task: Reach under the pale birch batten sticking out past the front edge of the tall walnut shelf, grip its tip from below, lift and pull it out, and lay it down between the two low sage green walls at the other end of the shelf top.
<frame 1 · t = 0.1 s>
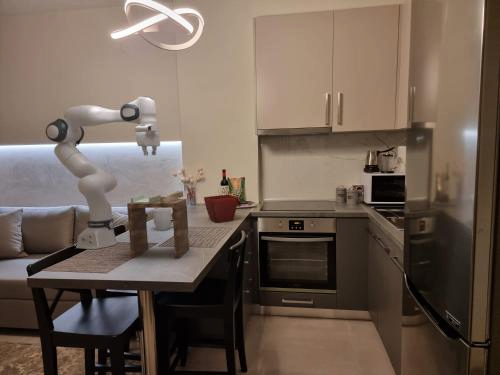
hand: (150, 155, 181), 48 cm above the counter, tool pointing down, fingers open, 8 cm apart
mug: (164, 229, 224), on the counter
batten: (172, 199, 170), point 26 cm above the counter, touching walnut shelf
sage channel: (146, 201, 169), resting on walnut shelf
walnut shelf: (161, 253, 170), on the counter
plant pot: (221, 220, 246), on the counter
pill bottle: (162, 224, 240), on the counter
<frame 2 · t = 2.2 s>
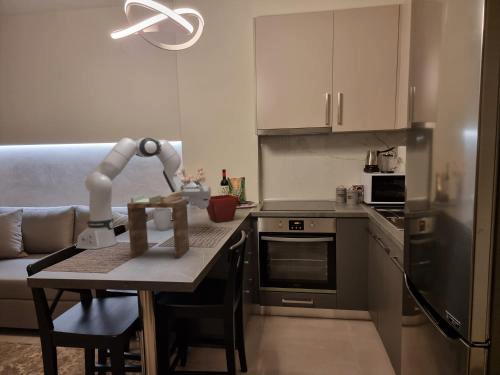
hand: (189, 185, 195), 30 cm above the counter, tool pointing upward, fingers open, 8 cm apart
nothing on the counter moved.
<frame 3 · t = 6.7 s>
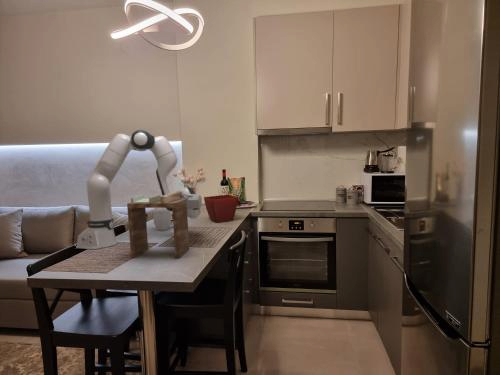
hand: (177, 194, 176), 28 cm above the counter, tool pointing upward, fingers closed on batten, 3 cm apart
batten: (172, 199, 170), point 26 cm above the counter, touching gripper, walnut shelf
everything else where it was.
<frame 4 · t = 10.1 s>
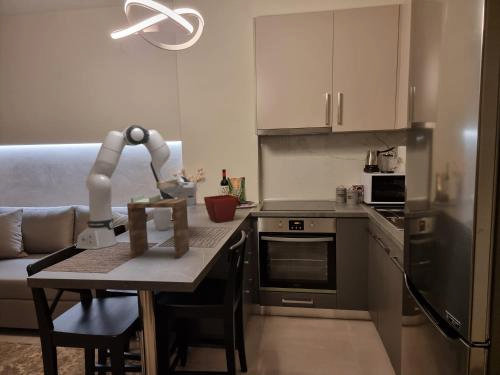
hand: (173, 181, 186), 34 cm above the counter, tool pointing upward, fingers closed on batten, 3 cm apart
batten: (168, 186, 180), point 32 cm above the counter, touching gripper
everything else where it was.
when the fingers open (30 cm above the counter, at t = 13.5 s): batten drops 2 cm, resting on sage channel.
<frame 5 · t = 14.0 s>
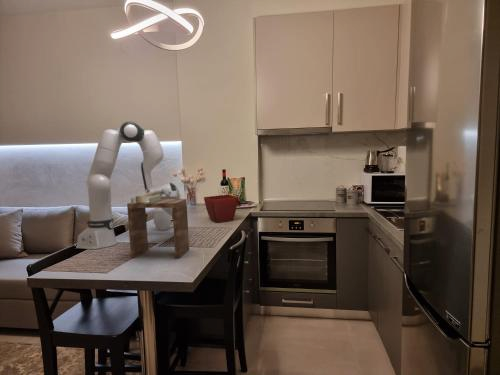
hand: (154, 190, 178), 30 cm above the counter, tool pointing upward, fingers open, 7 cm apart
batten: (149, 199, 172), point 26 cm above the counter, touching sage channel
everything else where it was.
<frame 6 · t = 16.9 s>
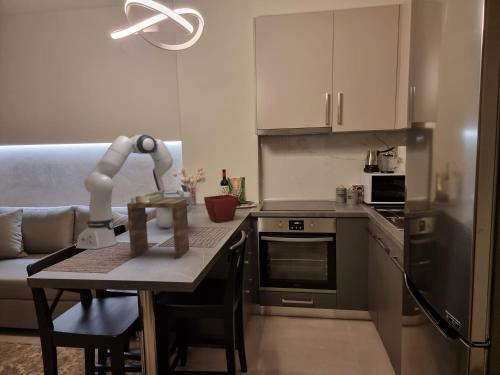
hand: (169, 191, 197), 27 cm above the counter, tool pointing upward, fingers open, 8 cm apart
mug: (165, 227, 225), point 1 cm above the counter
everything else where it was.
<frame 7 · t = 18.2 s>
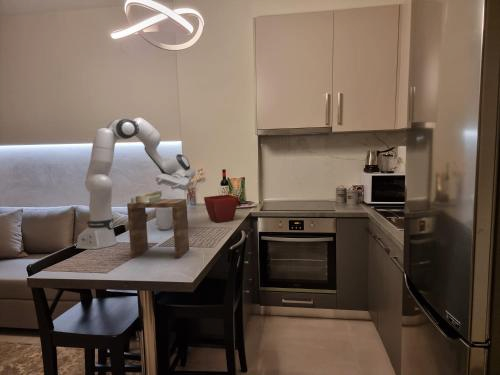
hand: (165, 185, 198), 30 cm above the counter, tool horizontal, fingers open, 8 cm apart
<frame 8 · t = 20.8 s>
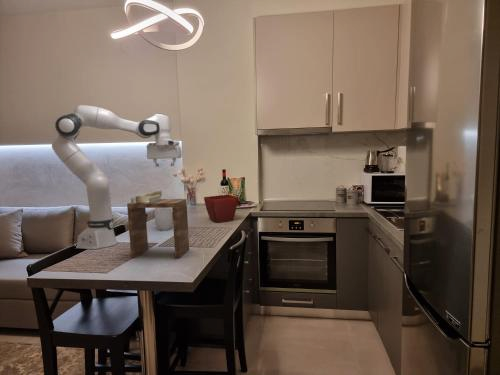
hand: (164, 166, 201), 41 cm above the counter, tool pointing down, fingers open, 8 cm apart
at the end: batten inside the target area (0.1 cm from its centre), point 26.4 cm above the counter; batten tilted 0°; the gripper is holding nothing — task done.
